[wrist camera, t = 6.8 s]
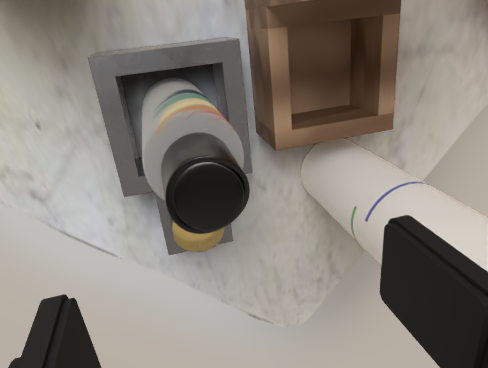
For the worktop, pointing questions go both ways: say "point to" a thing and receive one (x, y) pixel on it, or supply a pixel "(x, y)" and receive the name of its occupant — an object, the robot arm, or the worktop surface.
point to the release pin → (196, 239)
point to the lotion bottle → (192, 157)
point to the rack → (322, 68)
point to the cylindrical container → (387, 200)
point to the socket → (155, 59)
